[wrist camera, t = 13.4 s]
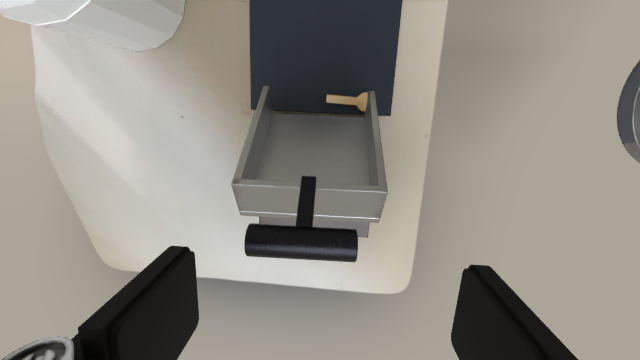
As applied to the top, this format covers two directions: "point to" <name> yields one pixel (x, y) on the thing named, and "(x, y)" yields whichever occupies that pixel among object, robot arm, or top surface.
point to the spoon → (349, 100)
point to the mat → (323, 52)
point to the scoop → (310, 181)
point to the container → (103, 19)
